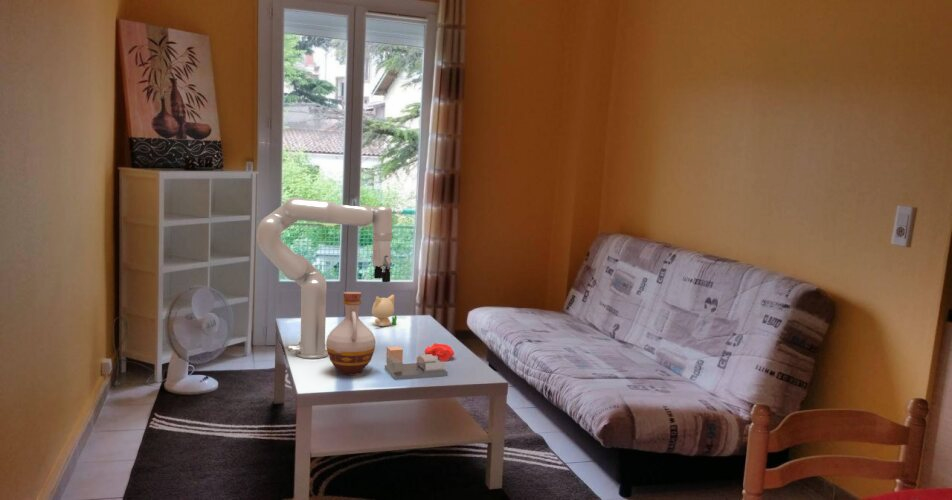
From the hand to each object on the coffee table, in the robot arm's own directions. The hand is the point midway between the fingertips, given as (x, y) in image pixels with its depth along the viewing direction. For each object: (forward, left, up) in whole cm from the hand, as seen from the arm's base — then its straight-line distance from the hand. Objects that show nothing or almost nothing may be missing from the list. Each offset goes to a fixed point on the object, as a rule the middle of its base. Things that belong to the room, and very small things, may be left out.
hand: (382, 280), depth 285 cm
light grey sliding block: (+11, -27, -29) cm, 41 cm away
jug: (-17, -21, -31) cm, 41 cm away
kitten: (+16, +49, -31) cm, 60 cm away
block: (+2, -13, -31) cm, 34 cm away
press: (+6, -27, -31) cm, 41 cm away
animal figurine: (+22, -8, -31) cm, 39 cm away
